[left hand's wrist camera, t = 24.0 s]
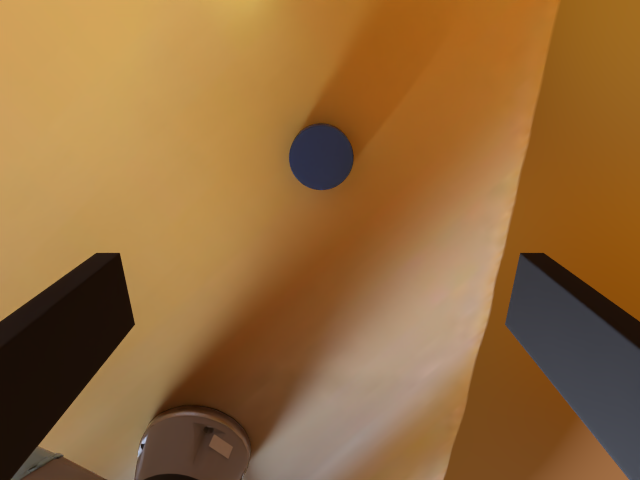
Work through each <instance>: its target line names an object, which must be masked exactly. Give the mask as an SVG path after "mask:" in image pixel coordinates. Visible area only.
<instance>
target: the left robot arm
mask: <svg viewBox="0 0 640 480" xmlns="http://www.w3.org/2000/svg"><path fill="white" fill-rule="evenodd" d="M134 325H135V323H134V318H133V313H132V309H131V304H130V299H129V294H128V290H127V285H126V280H125V276H124V271H123V266H122V261H121V257H120V253H96V254H94V255H93V256H92V257H90V258H89V259H87V260H86V261H85V262H83V263H82V264H80V265H79V266H78V267H76V268H75V269H73V270H72V271H71V272H69V273H68V274H66V275H65V276H64V277H62V278H61V279H59V280H58V281H57V282H55V283H54V284H52V285H51V286H50V287H48V288H47V289H45V290H44V291H43V292H41V293H40V294H38V295H37V296H36V297H34V298H33V299H31V300H30V301H29V302H27V303H26V304H24V305H23V306H22V307H20V308H19V309H17V310H16V311H15V312H13V313H12V314H10V315H9V316H8V317H6V318H5V319H3V320H2V321H1V322H0V480H106V479H104V478H102V477H101V476H99V475H97V474H95V473H93V472H91V471H89V470H87V469H85V468H83V467H81V466H79V465H78V464H76V463H74V462H72V461H70V460H68V459H66V458H64V457H63V455H62V454H60V453H56V454H55V453H52V452H50V451H47V450H45V449H43V448H41V447H38V445H39V444H40V442H41V441H42V440H43V439H44V437H45V436H46V435H47V434H48V432H49V431H50V430H51V429H52V427H53V426H54V425H55V424H56V422H57V421H58V420H59V419H60V417H61V416H62V415H63V414H64V412H65V411H66V410H67V409H68V407H69V406H70V405H71V404H72V402H73V401H74V400H75V399H76V397H77V396H78V395H79V394H80V392H81V391H82V390H83V389H84V387H85V386H86V385H87V384H88V382H89V381H90V380H91V379H92V377H93V376H94V375H95V374H96V372H97V371H98V370H99V369H100V367H101V366H102V365H103V364H104V362H105V361H106V360H107V359H108V357H109V356H110V355H111V354H112V352H113V351H114V350H115V349H116V347H117V346H118V345H119V344H120V342H121V341H122V340H123V339H124V337H125V336H126V335H127V334H128V332H129V331H130V330H131V329H132V327H133V326H134ZM505 325H506V326H507V327H508V329H509V330H510V331H511V332H512V334H513V335H514V336H515V337H516V339H517V340H518V341H519V342H520V344H521V345H522V346H523V347H524V349H525V350H526V351H527V352H528V354H529V355H530V356H531V357H532V359H533V360H534V361H535V362H536V364H537V365H538V366H539V367H540V369H541V370H542V371H543V372H544V374H545V375H546V376H547V377H548V379H549V380H550V381H551V382H552V384H553V385H554V386H555V387H556V389H557V390H558V391H559V392H560V394H561V395H562V396H563V397H564V399H565V400H566V401H567V402H568V404H569V405H570V406H571V407H572V409H573V410H574V411H575V412H576V414H577V415H578V416H579V417H580V419H581V420H582V421H583V422H584V424H585V425H586V426H587V427H588V429H589V430H590V431H591V432H592V434H593V435H594V436H595V437H596V439H597V440H598V441H599V442H600V444H601V445H602V446H603V447H604V449H605V450H606V451H607V452H608V454H609V455H610V456H611V457H612V459H613V460H614V461H615V462H616V464H617V465H618V466H619V467H620V469H621V470H622V471H623V472H624V474H625V475H626V476H627V477H628V479H629V480H640V322H639V321H638V320H637V319H635V318H634V317H632V316H631V315H630V314H628V313H627V312H625V311H624V310H623V309H621V308H620V307H618V306H617V305H615V304H614V303H613V302H611V301H610V300H609V299H607V298H606V297H604V296H603V295H602V294H600V293H599V292H597V291H596V290H595V289H593V288H592V287H590V286H589V285H588V284H586V283H585V282H583V281H582V280H581V279H579V278H578V277H576V276H575V275H574V274H572V273H571V272H569V271H568V270H567V269H565V268H564V267H562V266H561V265H560V264H558V263H557V262H555V261H554V260H553V259H551V258H550V257H548V256H547V255H546V254H544V253H520V257H519V262H518V266H517V271H516V276H515V280H514V285H513V290H512V294H511V299H510V304H509V309H508V313H507V318H506V323H505ZM250 453H251V445H250V441H249V438H248V436H247V434H246V432H245V431H244V429H243V428H242V427H241V426H240V425H239V424H238V423H237V422H236V421H235V420H234V419H232V418H231V417H229V416H228V415H226V414H224V413H222V412H220V411H217V410H214V409H211V408H207V407H201V406H182V407H176V408H172V409H169V410H167V411H165V412H163V413H161V414H159V415H158V416H156V417H155V418H154V419H153V420H152V421H151V422H150V424H149V425H148V427H147V429H146V431H145V433H144V435H143V437H142V439H141V441H140V446H139V451H138V460H137V465H136V472H135V479H134V480H241V479H242V478H243V476H244V474H245V472H246V470H247V468H248V464H249V458H250Z"/></svg>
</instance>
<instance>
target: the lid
mask: <svg viewBox="0 0 640 480" xmlns="http://www.w3.org/2000/svg"><path fill="white" fill-rule="evenodd" d="M289 162H290V167H291V170H292V172H293V174H294V175H295V177H296V178H297V179H298V180H299V181H300V182H301V183H302V184H303V185H305V186H307V187H309V188H312V189H316V190H326V189H331V188H333V187H336V186H337V185H339V184H340V183H342V182H343V181H344V180H345V179H346V177H347V176H348V175H349V173H350V171H351V168H352V165H353V150H352V147H351V144H350V142H349V140H348V139H347V137H346V136H345V134H344V133H343V132H342V131H341V130H339V129H338V128H336V127H335V126H332V125H329V124H324V123H318V124H313V125H310V126H308V127H306V128H304V129H303V130H302V131H301V132H300V133H299V134H298V135H297V136H296V138H295V140H294V141H293V143H292V146H291V149H290V153H289Z"/></svg>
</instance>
